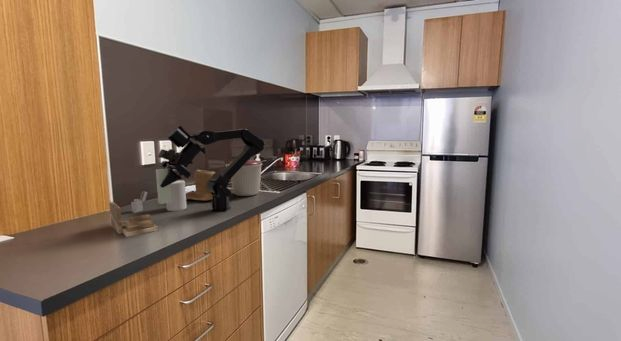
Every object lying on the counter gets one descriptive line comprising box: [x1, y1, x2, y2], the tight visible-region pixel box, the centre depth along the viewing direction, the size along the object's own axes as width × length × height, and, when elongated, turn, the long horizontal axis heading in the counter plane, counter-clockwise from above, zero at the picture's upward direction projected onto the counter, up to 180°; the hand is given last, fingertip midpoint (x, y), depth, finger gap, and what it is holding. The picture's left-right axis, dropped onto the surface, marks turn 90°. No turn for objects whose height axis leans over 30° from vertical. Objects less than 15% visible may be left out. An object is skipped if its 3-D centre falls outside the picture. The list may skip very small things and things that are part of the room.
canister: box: [227, 159, 263, 197], centre depth 168 cm, size 18×18×21 cm
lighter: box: [130, 191, 148, 214], centre depth 137 cm, size 7×2×8 cm, turn 158°
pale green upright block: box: [155, 168, 172, 205], centre depth 121 cm, size 4×3×13 cm
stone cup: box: [186, 169, 216, 202], centre depth 157 cm, size 15×12×15 cm
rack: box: [108, 201, 159, 238], centre depth 112 cm, size 11×17×9 cm, turn 42°
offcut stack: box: [124, 213, 155, 232], centre depth 109 cm, size 8×4×4 cm, turn 132°
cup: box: [165, 179, 187, 212], centre depth 140 cm, size 8×8×12 cm
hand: (159, 186), depth 120 cm, fingers closed on pale green upright block, 3 cm apart
